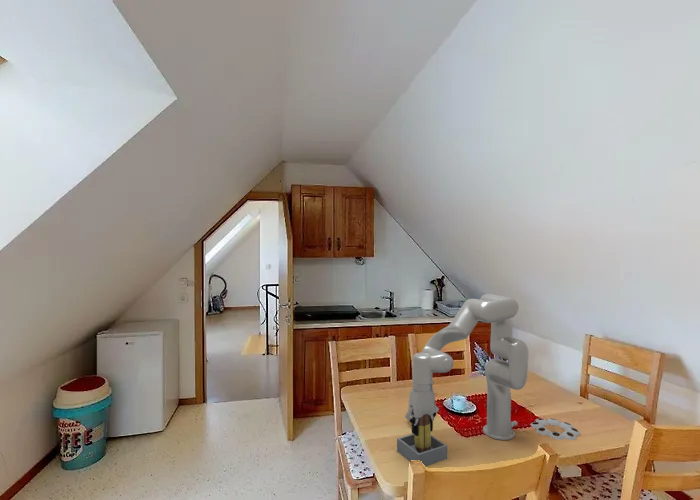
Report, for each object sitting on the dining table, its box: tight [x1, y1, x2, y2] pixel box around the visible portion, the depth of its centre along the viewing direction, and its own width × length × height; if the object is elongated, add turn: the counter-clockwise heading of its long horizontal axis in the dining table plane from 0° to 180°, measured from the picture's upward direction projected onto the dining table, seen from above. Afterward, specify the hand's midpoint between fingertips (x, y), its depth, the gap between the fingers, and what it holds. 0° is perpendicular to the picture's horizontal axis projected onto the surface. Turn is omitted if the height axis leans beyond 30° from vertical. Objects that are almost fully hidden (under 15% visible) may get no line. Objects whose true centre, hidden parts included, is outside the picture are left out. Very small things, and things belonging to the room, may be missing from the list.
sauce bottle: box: [414, 414, 432, 452], centre depth 152 cm, size 6×6×20 cm
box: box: [396, 433, 448, 467], centre depth 152 cm, size 14×14×5 cm
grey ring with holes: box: [529, 417, 581, 441], centre depth 173 cm, size 20×20×2 cm
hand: (422, 431), depth 152 cm, fingers closed on sauce bottle, 6 cm apart
